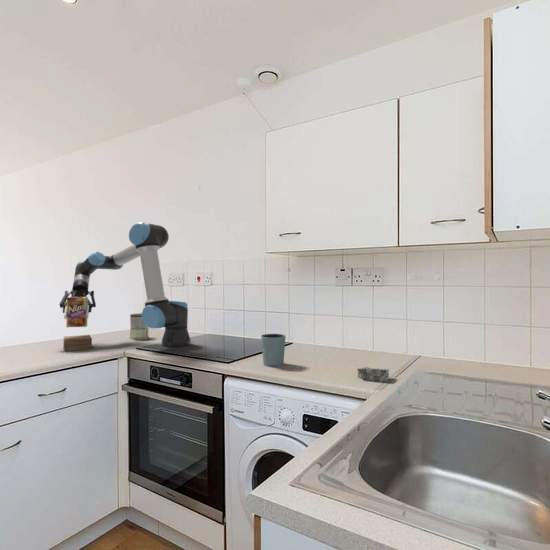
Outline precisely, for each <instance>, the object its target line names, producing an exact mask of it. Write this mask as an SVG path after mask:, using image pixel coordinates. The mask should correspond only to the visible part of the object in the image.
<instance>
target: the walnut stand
mask: <svg viewBox="0 0 550 550" xmlns="http://www.w3.org/2000/svg"><path fill="white" fill-rule="evenodd" d="M90 349H91V350H92V349H93V338H92V337H91V335H90V334H83V335H82V334H81V335H69V336H66V335H65V336H63V351H79V350H90Z"/></svg>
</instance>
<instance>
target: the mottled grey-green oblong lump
mask: <svg viewBox="0 0 550 550" xmlns="http://www.w3.org/2000/svg"><path fill="white" fill-rule="evenodd" d="M356 370H357V379H358V378H360V379H363V380H362V381H365V380H364V379H369V380H368V381H370V380H372V381H371V382H375V381H374V380H378V381H377V382H380V383H384V382H383V381H387V382H388V379H387V378H390V377H389V376H390V375H389V374H390V369H389V368H380V369H379V367H378V368H371V367H368V366H364V367H361V368H357V369H356ZM360 379H359V380H360Z"/></svg>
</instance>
